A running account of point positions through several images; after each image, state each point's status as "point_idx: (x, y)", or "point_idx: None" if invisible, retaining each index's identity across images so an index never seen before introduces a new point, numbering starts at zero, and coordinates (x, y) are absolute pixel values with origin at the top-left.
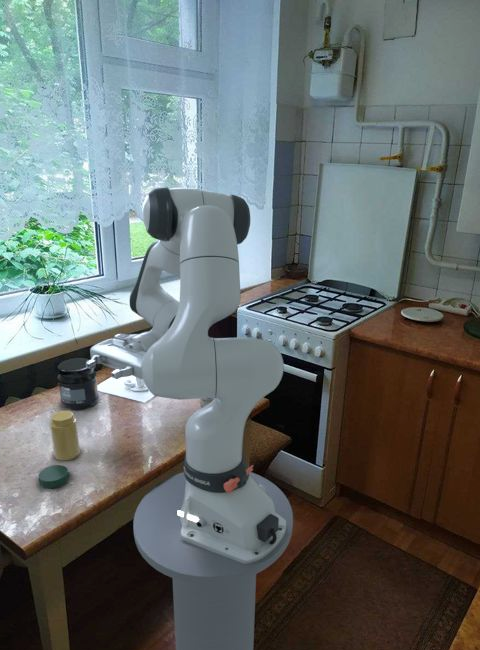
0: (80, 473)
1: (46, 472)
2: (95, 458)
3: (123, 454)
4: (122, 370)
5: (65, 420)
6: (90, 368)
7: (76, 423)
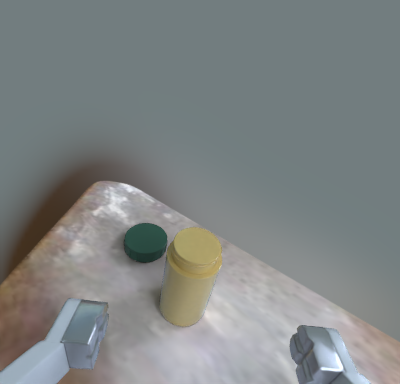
0: (117, 271)
1: (156, 234)
2: (118, 316)
3: None
4: (31, 347)
5: (176, 236)
6: (291, 341)
7: (175, 279)
